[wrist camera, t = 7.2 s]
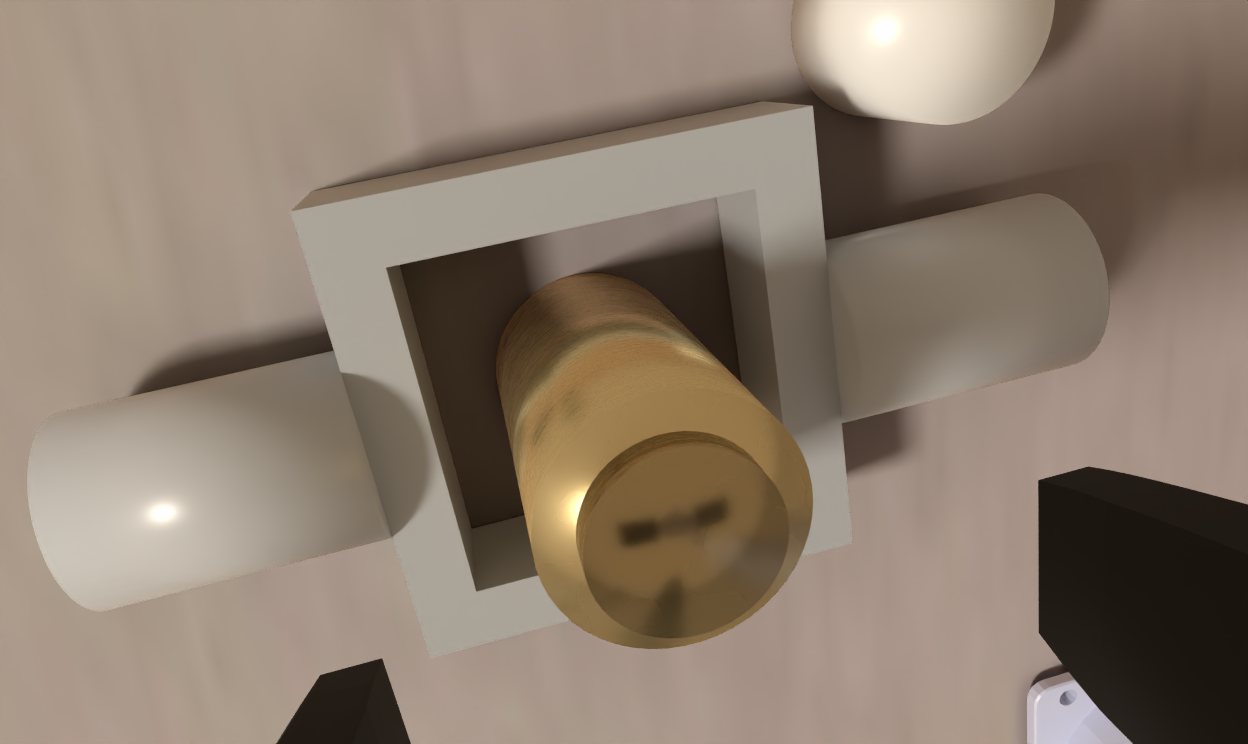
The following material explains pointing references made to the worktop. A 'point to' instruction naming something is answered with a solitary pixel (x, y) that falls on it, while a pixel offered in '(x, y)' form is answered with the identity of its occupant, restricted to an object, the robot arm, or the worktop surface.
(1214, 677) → the robot arm
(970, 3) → the pipe cap
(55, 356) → the worktop surface
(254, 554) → the fitting socket
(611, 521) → the gold metal cylinder
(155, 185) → the worktop surface
